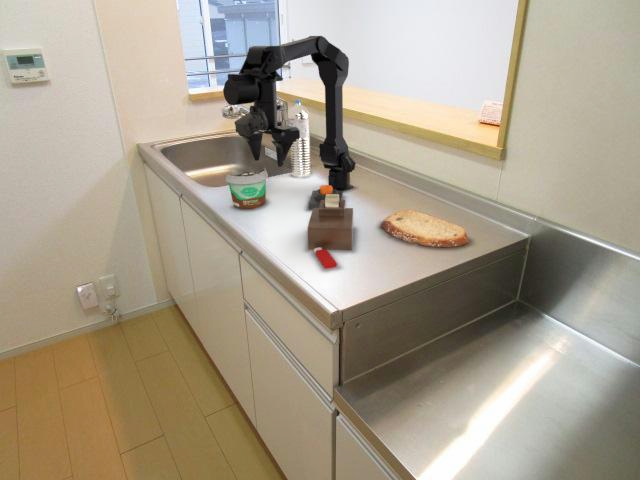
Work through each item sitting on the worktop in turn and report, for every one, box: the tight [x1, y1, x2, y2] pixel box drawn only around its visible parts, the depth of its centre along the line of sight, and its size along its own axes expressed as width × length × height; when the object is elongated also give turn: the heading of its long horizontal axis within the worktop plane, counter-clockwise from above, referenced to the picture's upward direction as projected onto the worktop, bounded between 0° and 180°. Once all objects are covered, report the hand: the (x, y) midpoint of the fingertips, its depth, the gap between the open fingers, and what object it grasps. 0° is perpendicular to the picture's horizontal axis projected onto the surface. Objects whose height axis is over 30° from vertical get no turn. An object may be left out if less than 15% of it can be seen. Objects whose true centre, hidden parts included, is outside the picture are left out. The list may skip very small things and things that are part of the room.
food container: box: [225, 167, 269, 211], centre depth 127 cm, size 12×6×10 cm, turn 118°
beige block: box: [325, 194, 339, 207], centre depth 108 cm, size 3×3×2 cm
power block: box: [308, 188, 344, 211], centre depth 130 cm, size 11×9×4 cm
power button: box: [319, 184, 332, 194], centre depth 129 cm, size 4×4×2 cm
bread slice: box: [380, 209, 469, 248], centre depth 110 cm, size 18×18×4 cm
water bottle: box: [287, 98, 312, 178], centre depth 150 cm, size 7×7×25 cm
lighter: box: [313, 247, 338, 269], centre depth 99 cm, size 3×1×8 cm
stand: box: [307, 199, 354, 251], centre depth 107 cm, size 13×10×8 cm
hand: (268, 163), depth 117 cm, fingers open, 9 cm apart
